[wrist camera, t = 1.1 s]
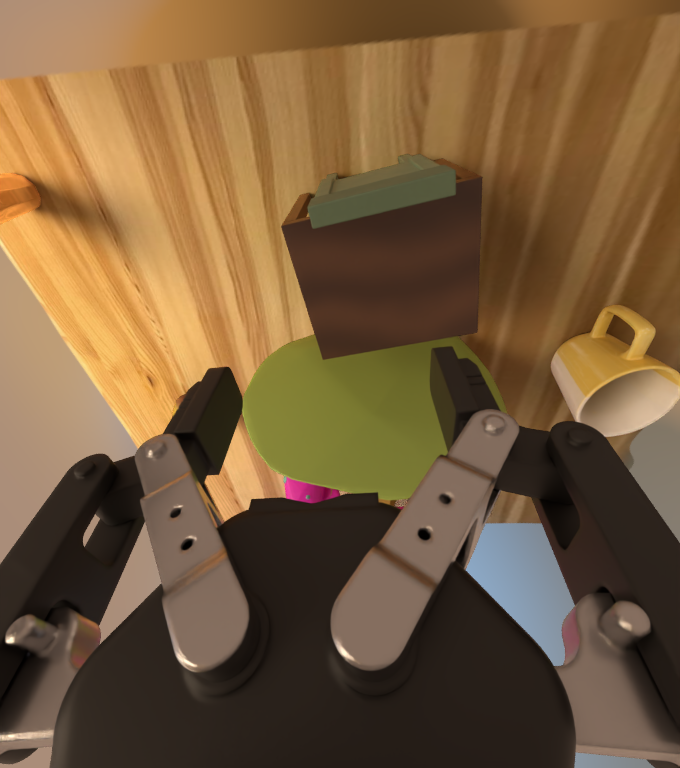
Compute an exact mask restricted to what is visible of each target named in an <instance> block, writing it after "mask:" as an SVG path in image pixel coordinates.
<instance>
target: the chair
mask: <svg viewBox="0 0 680 768" xmlns="http://www.w3.org/2000/svg"><path fill="white" fill-rule="evenodd" d="M398 161H399V164H396V165H392V166H388V167H385V168H381V169H377V170H373V171H369V172H365V173H362V174H358V175H354V176H350V177H346V178H342V179H338V175H337V173H333V174H329V175H327V177H326V179H323V180H321V183H320V185H319V187H318V190H317V192H316V195H315V197H314V198H312V199H311V200H310V203H309V205H308V207H307V209H308V213H309V217H310V220H311V224H312V228H313V229H316V228H320V227H325V226H329V225H333V224H337V223H341V222H345V221H350V220H354V219H358V218H362V217H366V216H370V215H375V214H379V213H383V212H387V211H391V210H395V209H400V208H404V207H408V206H412V205H416V204H420V203H425V202H429V201H433V200H437V199H441V198H446V197H450V196H454V195H456V170H454V169H452V168H451V167H449V166H447V165H439V164H437V163H435V162H433V161H432V160H430V159H428V158H426V157H424V156H423V155H421V154H418V155H414V156H411V155H409V154H405V155H402V156H399V157H398Z"/></svg>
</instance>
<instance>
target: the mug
mask: <svg viewBox="0 0 680 768" xmlns="http://www.w3.org/2000/svg"><path fill="white" fill-rule="evenodd" d="M614 314H615V315H617V316H618V317H620V318H621V319H623V320H624V321H625V322H626V323H628V324H629V325H630V326H631V327H632V328H633V329H634V331H635V338H634V340H633V342H632V345H631V346H630V345H628V344H626V343H624V342H622V341H620V340H619V339H617V338H615V337H613V336H611V335H609V334H606V331H607V329H608V326H609V324H610V322H611V320H612V318H613V316H614ZM655 333H656V330H655V328H654V326H653V325H652V324H651V323H649V322H648V321H647V320H646V319H645V318H643V317H642V316H641V315H639V314H638V313H636V312H634V311H633V310H631V309H629V308H627V307H625V306H622V305H611V306H607V307H605V308H604V309H603V310H602V311H601V313H600V314H599V316H598V318H597V320H596V322H595V324H594V327H593V329H592V331H591V333H586V334H582V335H578V336H575V337H573V338H571V339H569V340H567V341H566V342H565V343H563V344H562V345H561V346H560V347H559V348H558V350H557V351H556V353H555V355H554V357H553V359H552V362H551V371H552V374H553V376H554V378H555V380H556V382H557V384H558V386H559V388H560V390H561V392H562V394H563V396H564V399H565V401H566V403H567V405H568V407H569V409H570V411H571V413H572V415H573V417H574V419H575V421H576V422H580V423H583V424H586V425H589V426H591V427H593V428H595V429H596V430H598V431H599V432H600V433H602V434H603V435H604V437H610V436H618V435H623V434H627V433H631V432H634V431H637V430H639V429H642V428H644V427H646V426H648V425H650V424H652V423H654V422H655V421H657V420H658V419H660V418H661V417H663V416H664V415H665V414H666V413H668V411H670V410H671V409H672V408H673V407H674V406H675V405H676V403H677V402H678V401H679V399H680V374H679V372H677V371H676V370H675V369H673V368H671V367H669V366H668V365H666V364H664V363H662V362H660V361H658V360H657V359H655V358H653V357H651V356H649V355H647V354H645V353H646V351H647V349H648V347H649V345H650V343H651V342H652V340H653V338H654V336H655Z"/></svg>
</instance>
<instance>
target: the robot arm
mask: <svg viewBox="0 0 680 768" xmlns="http://www.w3.org/2000/svg"><path fill="white" fill-rule="evenodd" d="M430 392H431V396H432V400H433V403H434V407H435V410H436V413H437V417H438V420H439V423H440V427H441V430H442V434H443V437H444V440H445V444H446V447H447V451H448V453H447V454H446V456H445V455H442V454H441V455H439V456H438V457H437V458H436V460H435V461H434V463H433V464H432V466H431V467H430V469H429V470H428V472H427V473H426V475H425V476H424V478H423V479H422V480H421V482H420V483H419V485H418V486H417V488H416V489H415V491H414V492H413V494H412V495H411V497H410V498H409V500H408V501H407V503H406V504H405V506H404V507H403V509H402V510H401V509H399V508H397V507H395V506H392V505H389V504H386V503H381V502H379V498H378V492H373V493H355V494H344V495H341V496H337V497H334V498H331V499H327V500H324V501H320V502H317V503H307V502H302V501H297V500H292V499H286V498H265V499H251V503H250V507H249V510H246V511H244V512H241V513H239V514H237V515H235V516H233V517H231V518H230V519H228V520H227V521H225V522H224V520H223V518H222V516H221V514H220V512H219V510H218V508H217V506H216V504H215V502H214V500H213V497H212V495H211V493H210V491H209V489H208V487H207V485H206V484H205V479H206V476H207V475H219V473H220V471H221V468H222V465H223V462H224V459H225V457H226V454H227V451H228V448H229V445H230V443H231V440H232V437H233V434H234V432H235V429H236V426H237V423H238V420H239V418H240V415H241V412H242V408H243V400H242V395H241V393H240V390H239V388H238V385H237V383H236V381H235V378H234V376H233V373H232V371H231V369H230V368H229V367H219V368H210V369H208V370H207V372H206V374H205V376H204V377H203V379H202V381H200V382H197V383H196V384H195V385H194V386H192V387H191V388H190V389H189V390H188V391H187V393H186V395H185V397H184V398H183V401H182V402H181V404H180V405H179V409H177V410H176V412H175V414H174V416H173V417H172V419H171V421H170V422H169V424H168V426H167V428H166V429H165V431H164V433H163V434H161V435H158V436H155V437H153V438H151V439H149V440H148V441H146V442H145V443H144V444H142V445H141V446H140V448H139V449H138V450H137V452H136V454H135V456H132V457H129V458H126V459H123V460H119V461H116V462H113V461H112V460H111V459H110V458H109V457H108V456H107V455H105V454H95V455H91V456H89V457H86V458H84V459H82V460H80V461H79V462H77V463H76V464H75V465H74V466H72V467H71V468H70V469H69V470H68V471H67V473H66V474H65V476H64V477H63V478H62V480H61V481H60V482H59V484H58V485H57V487H56V488H55V489H54V491H53V492H52V494H51V495H50V496H49V498H48V499H47V500H46V502H45V503H44V505H43V506H42V507H41V509H40V510H39V512H38V513H37V514H36V516H35V517H34V518H33V520H32V521H31V523H30V524H29V525H28V527H27V528H26V529H25V531H24V532H23V534H22V535H21V536H20V538H19V539H18V541H17V542H16V543H15V545H14V546H13V547H12V549H11V550H10V552H9V553H8V554H7V556H6V557H5V559H4V560H3V561H2V563H1V564H0V763H2V764H14V763H17V762H20V761H22V760H24V759H25V758H27V757H28V756H30V755H31V754H32V753H33V752H34V751H36V750H37V749H38V748H40V747H52V756H51V762H50V768H574V763H575V752H578V753H589V754H598V755H608V756H618V757H629V758H639V759H646V760H647V761H648V762H649V763H651V765H653V766H654V767H655V768H680V543H679V541H678V540H677V538H676V537H675V536H674V534H673V533H672V531H671V530H670V529H669V527H668V526H667V524H666V523H665V522H664V520H663V519H662V517H661V516H660V514H659V513H658V511H657V510H656V509H655V507H654V506H653V504H652V503H651V501H650V500H649V499H648V497H647V496H646V494H645V493H644V492H643V490H642V489H641V487H640V486H639V484H638V483H637V482H636V480H635V479H634V477H633V476H632V475H631V473H630V472H629V470H628V469H627V467H626V466H625V465H624V463H623V462H622V460H621V459H620V457H619V456H618V455H617V453H616V452H615V450H614V449H613V448H612V446H611V445H610V443H609V442H608V440H607V439H606V438H605V437H604V435H603V434H602V433H600V432H599V431H598V430H596V429H595V428H593V427H591V426H589V425H586V424H583V423H580V422H574V421H565V422H560V423H557V424H556V425H554V426H553V427H552V429H551V431H550V432H548V431H542V430H536V429H530V428H525V427H522V426H519V425H518V423H517V422H516V420H515V419H514V418H513V417H511V416H510V415H508V414H506V413H504V412H502V411H501V410H500V408H499V406H498V405H497V403H496V401H495V399H494V397H493V395H492V393H491V391H490V389H489V387H488V385H487V384H486V381H485V379H484V377H482V373H481V371H480V369H479V368H478V366H477V365H476V364H475V363H474V362H472V361H471V360H470V359H468V358H461V359H458V357H457V355H456V353H455V350H454V348H453V347H452V346H448V347H438V348H432V350H431V362H430ZM501 490H502V491H506V492H511V493H515V494H520V495H524V496H529V497H531V498H532V500H533V503H534V505H535V508H536V510H537V513H538V515H539V518H540V520H541V523H542V525H543V527H544V530H545V532H546V535H547V537H548V540H549V542H550V545H551V547H552V550H553V552H554V555H555V557H556V559H557V562H558V565H559V567H560V570H561V572H562V574H563V577H564V579H565V582H566V584H567V587H568V589H569V592H570V594H571V597H572V599H573V601H574V604H575V607H574V608H573V609H572V610H571V612H570V613H569V614H568V615H567V616H566V618H565V619H564V622H563V624H562V638H563V642H564V646H565V661H564V664H563V665H562V666H553V664H552V662H551V661H550V659H549V658H548V656H547V655H546V654H545V652H544V651H543V650H542V648H541V647H540V646H539V645H538V644H537V643H536V642H535V640H534V639H533V638H532V637H531V636H530V635H529V634H528V633H527V632H526V631H525V630H524V629H523V628H522V627H521V626H520V625H519V624H518V623H517V622H516V621H515V620H514V619H513V618H512V617H511V616H510V615H509V614H508V613H507V612H506V611H505V610H504V609H503V608H502V607H501V606H500V605H499V604H498V603H497V602H496V601H495V600H494V599H493V598H492V597H491V596H490V595H489V594H488V593H487V592H486V591H485V590H484V589H483V588H482V587H481V586H480V585H479V584H478V582H477V581H476V580H475V579H474V578H473V577H472V576H471V575H470V574H469V573H468V572H467V571H466V568H467V565H468V563H469V561H470V559H471V557H472V554H473V552H474V550H475V547H476V545H477V542H478V539H479V537H480V534H481V532H482V530H483V527H484V525H485V523H486V521H487V519H488V517H489V515H490V513H491V511H492V509H493V506H494V504H495V502H496V500H497V498H498V496H499V494H500V492H501ZM95 514H96V515H97V516H98V517H99V518H100V520H99V522H98V524H97V526H96V527H95V529H94V531H93V533H92V535H91V537H90V538H89V540H88V542H87V544H86V546H85V547H84V546H83V536H84V533H85V531H86V529H87V527H88V525H89V524H90V522H91V520H92V518H93V517H94V515H95ZM144 522H146V526H147V530H148V534H149V537H150V541H151V545H152V549H153V552H154V556H155V560H156V564H157V567H158V571H159V575H160V579H161V582H162V583H161V584H160V585H159V586H158V587H157V588H156V589H155V590H154V591H153V592H152V593H151V594H150V595H149V596H148V597H147V598H146V599H145V600H144V601H143V602H142V603H141V604H140V605H139V606H138V608H136V609H135V610H134V611H133V612H132V613H131V614H130V615H129V616H128V617H127V618H126V619H125V620H124V621H123V622H122V623H121V624H120V625H119V626H118V627H117V628H116V629H115V630H114V631H113V632H112V633H111V634H110V635H109V636H108V637H107V638H106V639H105V640H104V641H103V642H102V643H101V644H100V638H101V632H100V628H99V625H100V622H101V620H102V618H103V616H104V613H105V611H106V609H107V606H108V604H109V602H110V600H111V597H112V595H113V593H114V591H115V588H116V586H117V584H118V582H119V579H120V577H121V575H122V572H123V570H124V568H125V566H126V563H127V561H128V559H129V557H130V554H131V552H132V550H133V547H134V545H135V543H136V541H137V538H138V536H139V534H140V532H141V529H142V527H143V524H144ZM99 644H100V645H99Z"/></svg>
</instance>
